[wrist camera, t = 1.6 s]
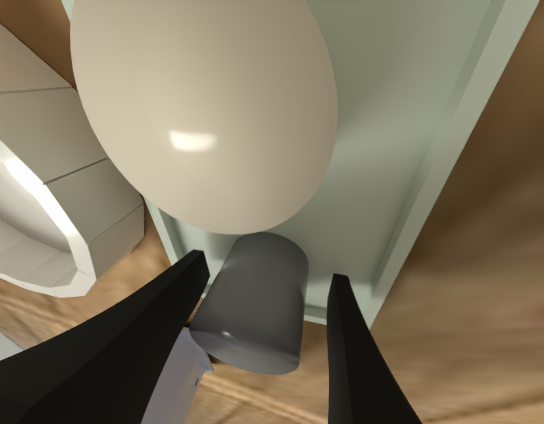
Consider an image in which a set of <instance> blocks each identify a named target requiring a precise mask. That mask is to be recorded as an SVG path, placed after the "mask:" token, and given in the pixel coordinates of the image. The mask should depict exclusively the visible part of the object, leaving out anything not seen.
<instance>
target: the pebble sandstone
mask: <svg viewBox="0 0 544 424" xmlns="http://www.w3.org/2000/svg"><path fill="white" fill-rule="evenodd" d="M70 46H71V58H72V65H73V72H74V77H75V81H76V85H77V90H78V93H79V96H80V99H81V102H82V105H83V108H84V111H85V113H86V115H87V118H88V120H89V122H90V125H91V127H92V129H93V131H94V133H95V135H96V136H97V138H98V140H99V142H100V144H101V145H102V147H103V149H104V150H105V152H106V153H107V155H108V156H109V158H110V159H111V161H112V162H113V163H114V165H115V166H116V167H117V169H118V170H119V171H120V172H121V173H122V175H123V176H124V177H125V178H126V179H127V180H128V182H129V183H130V184H131V185H132V186H133V187H134V188H135V189H136V190H137V191H138V192H140V193H141V194H142V195H143V196H144V197H145V198H146V199H148V200H149V201H150V202H151V203H153V204H154V205H155V206H157V207H158V208H159V209H161V210H162V211H164V212H166V213H167V214H169V215H170V216H172V217H174V218H176V219H178V220H180V221H182V222H184V223H186V224H189V225H191V226H194V227H196V228H199V229H203V230H206V231H210V232H215V233H221V234H249V233H256V232H260V231H264V230H267V229H270V228H272V227H275V226H277V225H279V224H281V223H282V222H284V221H286V220H288V219H289V218H291V217H292V216H293V215H294V214H296V213H297V212H298V211H299V210H300V209H301V208H302V207H303V206H304V205H305V204H306V203H307V202H308V201H309V200H310V199H311V197H312V196H313V195H314V193H315V192H316V191H317V189H318V187H319V186H320V184H321V182H322V180H323V178H324V176H325V174H326V172H327V169H328V166H329V164H330V161H331V158H332V154H333V150H334V146H335V141H336V133H337V123H338V102H337V90H336V83H335V77H334V71H333V67H332V63H331V60H330V56H329V53H328V49H327V46H326V43H325V40H324V38H323V36H322V33H321V31H320V29H319V26H318V24H317V22H316V19H315V17H314V15H313V14H312V12H311V10H310V9H309V7H308V5H307V4H306V2H305V0H74V3H73V8H72V16H71V26H70Z"/></svg>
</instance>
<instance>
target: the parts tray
mask: <svg viewBox="0 0 544 424" xmlns="http://www.w3.org/2000/svg"><path fill="white" fill-rule="evenodd" d="M61 1H62V3H63V6H64V8H65V11H66V13H67V15H68V18H69V20H70V23H71V16H72V8H73V3H74V0H61ZM539 1H540V0H305V2H306V4H307V5H308V7H309V9H310V10H311V12H312V14H313V15H314V17H315V19H316V22H317V24H318V26H319V29H320V31H321V33H322V36H323V38H324V40H325V43H326V46H327V49H328V53H329V56H330V60H331V63H332V67H333V71H334V77H335V83H336V90H337V102H338V123H337V133H336V141H335V146H334V150H333V154H332V158H331V161H330V164H329V166H328V169H327V172H326V174H325V176H324V178H323V180H322V182H321V184H320V186H319V187H318V189H317V191H316V192H315V193H314V195H313V196H312V197H311V199H310V200H309V201H308V202H307V203H306V204H305V205H304V206H303V207H302V208H301V209H300V210H299V211H298V212H297V213H296V214H294V215H293V216H292V217H291V218H289V219H288V220H286V221H284V222H282V223H281V224H279V225H277V226H275V227H272V228H270V229H267V230H264V231H260V232H270V233H275V234H278V235H281V236H284V237H286V238H288V239H290V240H291V241H293V242H294V243H295V244H297V245H298V246H299V247H300V248H301V249H302V250H303V252H304V253H305V255H306V257H307V259H308V262H309V274H308V283H307V293H306V303H305V312H304V320H306V321H310V322H315V323H319V324H324V325H327V323H326V317H327V298H328V294H329V290H330V286H331V282H332V277H333V273H336V274H342V275H347V276H348V277H349V280H350V283H351V286H352V289H353V292H354V295H355V298H356V300H357V303H358V305H359V308H360V310H361V313H362V315H363V317H364V319H365V322H366V324H367V326H368V328H369V329H370V327H371V325H372V323H373V322H374V320H375V318H376V316H377V314H378V312H379V310H380V308H381V306H382V304H383V302H384V300H385V298H386V296H387V295H388V293H389V291H390V289H391V287H392V285H393V283H394V281H395V279H396V277H397V275H398V273H399V271H400V269H401V267H402V266H403V264H404V262H405V260H406V258H407V256H408V254H409V252H410V250H411V248H412V246H413V244H414V242H415V240H416V239H417V237H418V235H419V233H420V231H421V229H422V227H423V225H424V223H425V221H426V219H427V217H428V215H429V213H430V212H431V210H432V208H433V206H434V204H435V202H436V200H437V198H438V196H439V194H440V192H441V190H442V188H443V186H444V185H445V183H446V181H447V179H448V177H449V175H450V173H451V171H452V169H453V167H454V165H455V163H456V161H457V159H458V157H459V156H460V154H461V152H462V150H463V148H464V146H465V144H466V142H467V140H468V138H469V136H470V134H471V132H472V130H473V129H474V127H475V125H476V123H477V121H478V119H479V117H480V115H481V113H482V111H483V109H484V107H485V105H486V103H487V102H488V100H489V98H490V96H491V94H492V92H493V90H494V88H495V86H496V84H497V82H498V80H499V78H500V76H501V74H502V73H503V71H504V69H505V67H506V65H507V63H508V61H509V59H510V57H511V55H512V53H513V51H514V49H515V47H516V46H517V44H518V42H519V40H520V38H521V36H522V34H523V32H524V30H525V28H526V26H527V24H528V22H529V20H530V19H531V17H532V15H533V13H534V11H535V9H536V7H537V5H538V3H539ZM143 197H144V196H143ZM144 200H145V202H146V205H147V207H148V209H149V212H150V214H151V217H152V219H153V221H154V224H155V226H156V229H157V231H158V233H159V236H160V238H161V241H162V243H163V245H164V248H165V250H166V252H167V255H168V257H169V260H170V262H171V264H172V265H173V264H175V263H176V262H177V261H178V260H180V259H181V258H182V257H184V256H185V255H186V254H188V253H189V252H190V251H192V250H193V249H196V250H202V251H204V254H205V258H206V261H207V265H208V269H209V272H210V278H209V280H208V283H207V285H206V287H205V290H204V292H203V294H202V296H201V298H205V296H206V294H207V292H208V290H209V288H210V287H211V285H212V283H213V281H214V279H215V277H216V276H217V274H218V272H219V270H220V268H221V266H222V264H223V263H224V261H225V259H226V257H227V255H228V253H229V252H230V250H231V248H232V246H233V244H234V243H235V241H236V240H237V239H238V238H239V237H241V236H243V235H245V234H221V233H215V232H210V231H206V230H203V229H199V228H196V227H194V226H191V225H189V224H186V223H184V222H182V221H180V220H178V219H176V218H174V217H172V216H170V215H169V214H167V213H166V212H164V211H162V210H161V209H159V208H158V207H157V206H155V205H154V204H153V203H151V202H150V201H149V200H148V199H146V198H145V197H144Z"/></svg>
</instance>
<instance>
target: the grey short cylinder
mask: <svg viewBox="0 0 544 424" xmlns="http://www.w3.org/2000/svg"><path fill="white" fill-rule="evenodd" d="M308 274H309V262H308V259H307V257H306V255H305V253H304V252H303V250H302V249H301V248H300V247H299V246H298V245H297V244H295V243H294V242H293V241H291V240H290V239H288V238H286V237H284V236H281V235H278V234H275V233H270V232H256V233H249V234H245V235H243V236H241V237H239V238H238V239H237V240H236V241H235V243H234V244H233V246H232V248H231V250H230V252H229V253H228V255H227V257H226V259H225V261H224V263H223V264H222V266H221V268H220V270H219V272H218V274H217V276H216V277H215V279H214V281H213V283H212V285H211V287H210V288H209V290H208V292H207V294H206V296H205V298H204V299H203V301H202V303H201V305H200V307H199V309H198V310H197V312H196V314H195V316H194V318H193V320H192V321H191V323H190V325H189V332H190V335H191V337H192V338H193V340H194V341H195V342H196V343H197V344H198V345H199V346H200V347H201V348H202V349H203V350H205V351H206V352H207V353H209V354H210V355H212V356H214V357H215V358H217V359H219V360H221V361H223V362H225V363H227V364H229V365H232V366H234V367H237V368H240V369H243V370H247V371H251V372H255V373H261V374H270V375H278V374H286V373H289V372H292V371H294V370H295V369H296V368H297V367H298V365H299V360H300V351H301V341H302V331H303V322H304V312H305V303H306V293H307V283H308Z"/></svg>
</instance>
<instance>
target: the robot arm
mask: <svg viewBox="0 0 544 424" xmlns="http://www.w3.org/2000/svg"><path fill="white" fill-rule="evenodd" d="M209 278H210V272H209V269H208V265H207V261H206V258H205V254H204V251H202V250H196V249H193V250H192V251H190V252H189V253H188V254H186V255H185V256H184V257H182V258H181V259H180V260H178V261H177V262H176V263H175V264H173V265H172V266H171V267H169V268H168V269H167V270H165V271H164V272H163V273H161V274H160V275H159V276H157V277H156V278H155V279H153V280H152V281H150V282H149V283H147V284H146V285H144V286H143V287H142V288H140V289H139V290H137V291H136V292H134V293H133V294H131V295H130V296H128V297H127V298H125V299H123V300H122V301H120V302H119V303H117V304H115V305H114V306H112V307H110V308H109V309H107V310H105V311H103V312H102V313H100V314H98V315H96V316H94V317H92V318H91V319H89V320H87V321H85V322H83V323H81V324H79V325H78V326H76V327H74V328H72V329H70V330H68V331H66V332H64V333H62V334H59V335H57V336H55V337H53V338H51V339H49V340H47V341H45V342H42V343H40V344H38V345H36V346H33V347H31V348H29V349H27V350H24V351H22V352H20V353H17V354H15V355H13V356H11V357H8V358H6V359H3V360H1V361H0V424H183V422H184V420H185V417H186V415H187V413H188V410H189V408H190V405H191V403H192V400H193V398H194V396H195V393H196V391H197V388H198V386H199V383H200V381H201V379H202V376H203V374H204V371H205V372H208V373H212V372H213V370H214V368H213V366H212V364H211V361H210V359H209V357H208V354H207V352H206V351H205V350H203V349H202V348H201V347H200V346H199V345H198V344H197V343H196V342H195V341H194V340H193V338H192V337H191V335H190V332H189V328H186V327H184V326H185V324H186V322H187V320H188V319H189V317H190V315H191V313H192V312H193V310H194V308H195V307H196V305H197V303H198V301H199V299H200V298H201V296H202V294H203V292H204V290H205V287H206V285H207V283H208V280H209ZM326 323H327V343H328V362H329V411H328V424H422V422H421V421H420V419H419V418H418V416H417V415H416V413H415V411H414V410H413V408H412V407H411V405H410V404H409V402H408V400H407V399H406V397H405V395H404V394H403V392H402V390H401V389H400V387H399V385H398V384H397V382H396V380H395V378H394V377H393V375H392V373H391V371H390V370H389V368H388V366H387V364H386V362H385V360H384V359H383V357H382V355H381V353H380V351H379V349H378V347H377V345H376V343H375V341H374V339H373V337H372V335H371V333H370V331H369V328H368V326H367V324H366V322H365V319H364V317H363V315H362V313H361V310H360V308H359V305H358V303H357V300H356V298H355V295H354V292H353V289H352V286H351V283H350V280H349V277H348V276H347V275H342V274H336V273H333V277H332V282H331V286H330V290H329V294H328V298H327V317H326Z"/></svg>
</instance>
